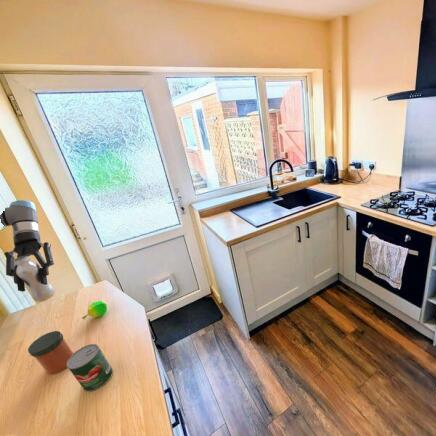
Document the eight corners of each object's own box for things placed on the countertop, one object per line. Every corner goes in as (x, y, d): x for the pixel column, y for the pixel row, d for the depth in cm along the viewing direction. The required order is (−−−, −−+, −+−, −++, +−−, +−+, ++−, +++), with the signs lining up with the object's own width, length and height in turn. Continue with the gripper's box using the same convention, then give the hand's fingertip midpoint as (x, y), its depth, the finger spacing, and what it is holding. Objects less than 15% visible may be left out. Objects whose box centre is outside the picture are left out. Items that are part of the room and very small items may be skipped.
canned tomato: (86, 397, 73) (68, 374, 68) (80, 381, 78) (63, 358, 73) (116, 376, 78) (101, 352, 73) (109, 362, 83) (95, 339, 78)
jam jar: (41, 377, 80) (23, 356, 76) (55, 357, 87) (39, 336, 82) (67, 370, 82) (51, 349, 77) (79, 350, 88) (65, 330, 84)
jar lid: (24, 360, 76) (20, 356, 75) (41, 338, 83) (38, 334, 82) (54, 352, 77) (51, 348, 77) (68, 331, 85) (66, 328, 84)
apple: (101, 295, 104) (76, 309, 97) (110, 307, 103) (85, 322, 96) (102, 301, 109) (78, 315, 102) (110, 312, 108) (86, 327, 101)
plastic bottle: (32, 303, 100) (3, 262, 92) (50, 292, 106) (24, 252, 97) (43, 305, 98) (15, 263, 90) (61, 293, 104) (36, 253, 96)
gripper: (60, 231, 109) (68, 279, 103) (2, 245, 101) (7, 298, 95) (50, 224, 103) (58, 276, 96) (-12, 239, 95) (-8, 296, 89)
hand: (33, 287), depth 96 cm, fingers closed on plastic bottle, 6 cm apart
